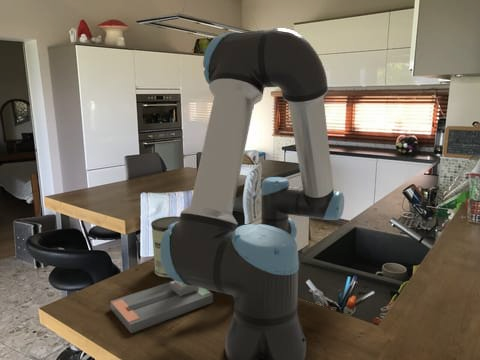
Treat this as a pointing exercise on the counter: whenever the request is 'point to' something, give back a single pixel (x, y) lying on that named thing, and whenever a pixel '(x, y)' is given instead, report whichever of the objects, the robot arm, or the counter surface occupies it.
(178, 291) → the handle
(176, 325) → the counter surface
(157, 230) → the coffee can
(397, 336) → the counter surface
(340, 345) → the counter surface
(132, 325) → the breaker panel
